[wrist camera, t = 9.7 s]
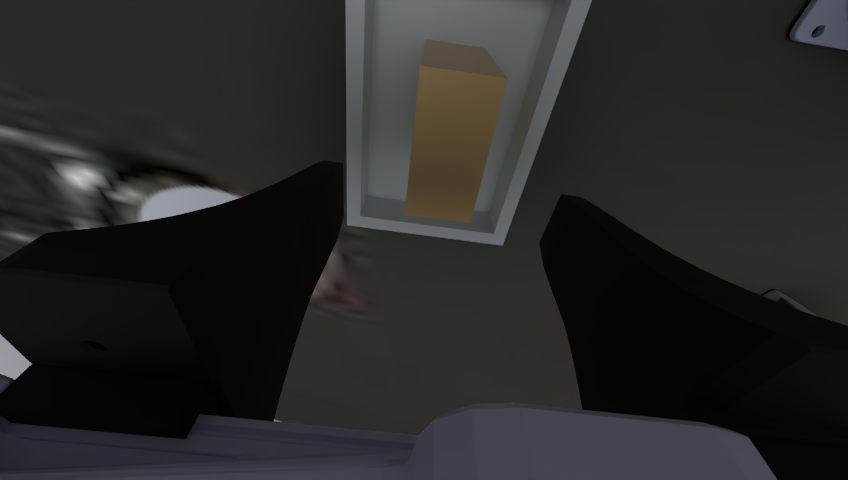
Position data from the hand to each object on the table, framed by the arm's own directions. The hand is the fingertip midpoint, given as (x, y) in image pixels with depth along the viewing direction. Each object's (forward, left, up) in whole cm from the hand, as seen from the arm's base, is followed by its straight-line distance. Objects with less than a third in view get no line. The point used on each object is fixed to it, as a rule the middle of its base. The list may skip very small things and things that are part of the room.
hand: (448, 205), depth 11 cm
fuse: (0, -1, -10) cm, 10 cm away
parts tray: (0, 0, -10) cm, 10 cm away
